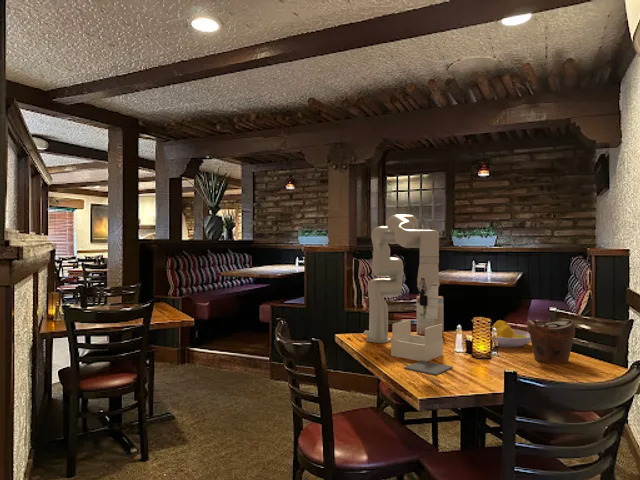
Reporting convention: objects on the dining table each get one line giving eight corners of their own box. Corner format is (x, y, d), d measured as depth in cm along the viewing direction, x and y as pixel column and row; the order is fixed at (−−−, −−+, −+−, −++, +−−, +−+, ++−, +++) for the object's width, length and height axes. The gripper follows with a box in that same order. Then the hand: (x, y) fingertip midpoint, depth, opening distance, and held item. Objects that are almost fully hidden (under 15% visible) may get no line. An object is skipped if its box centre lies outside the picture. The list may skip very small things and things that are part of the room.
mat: (404, 368, 187) (404, 367, 187) (421, 361, 198) (421, 360, 198) (436, 375, 178) (436, 373, 178) (452, 368, 189) (452, 366, 189)
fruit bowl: (541, 344, 233) (541, 321, 233) (519, 353, 214) (519, 328, 214) (487, 336, 253) (487, 315, 253) (462, 343, 233) (462, 321, 233)
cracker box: (442, 333, 258) (442, 295, 258) (443, 336, 252) (444, 297, 252) (416, 333, 259) (416, 295, 259) (417, 335, 253) (417, 296, 253)
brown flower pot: (516, 357, 207) (517, 316, 206) (549, 353, 214) (550, 314, 214) (549, 368, 190) (550, 324, 190) (585, 363, 198) (586, 321, 197)
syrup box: (419, 316, 191) (419, 281, 190) (433, 316, 191) (433, 281, 191) (423, 319, 185) (424, 282, 185) (438, 319, 185) (438, 282, 185)
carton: (391, 355, 208) (391, 324, 208) (410, 349, 221) (410, 319, 221) (424, 362, 198) (425, 328, 198) (442, 354, 210) (443, 323, 210)
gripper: (430, 259, 197) (430, 301, 197) (409, 261, 184) (409, 305, 184) (447, 260, 192) (447, 303, 192) (427, 261, 179) (426, 307, 179)
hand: (428, 304), depth 188 cm, fingers closed on syrup box, 8 cm apart
